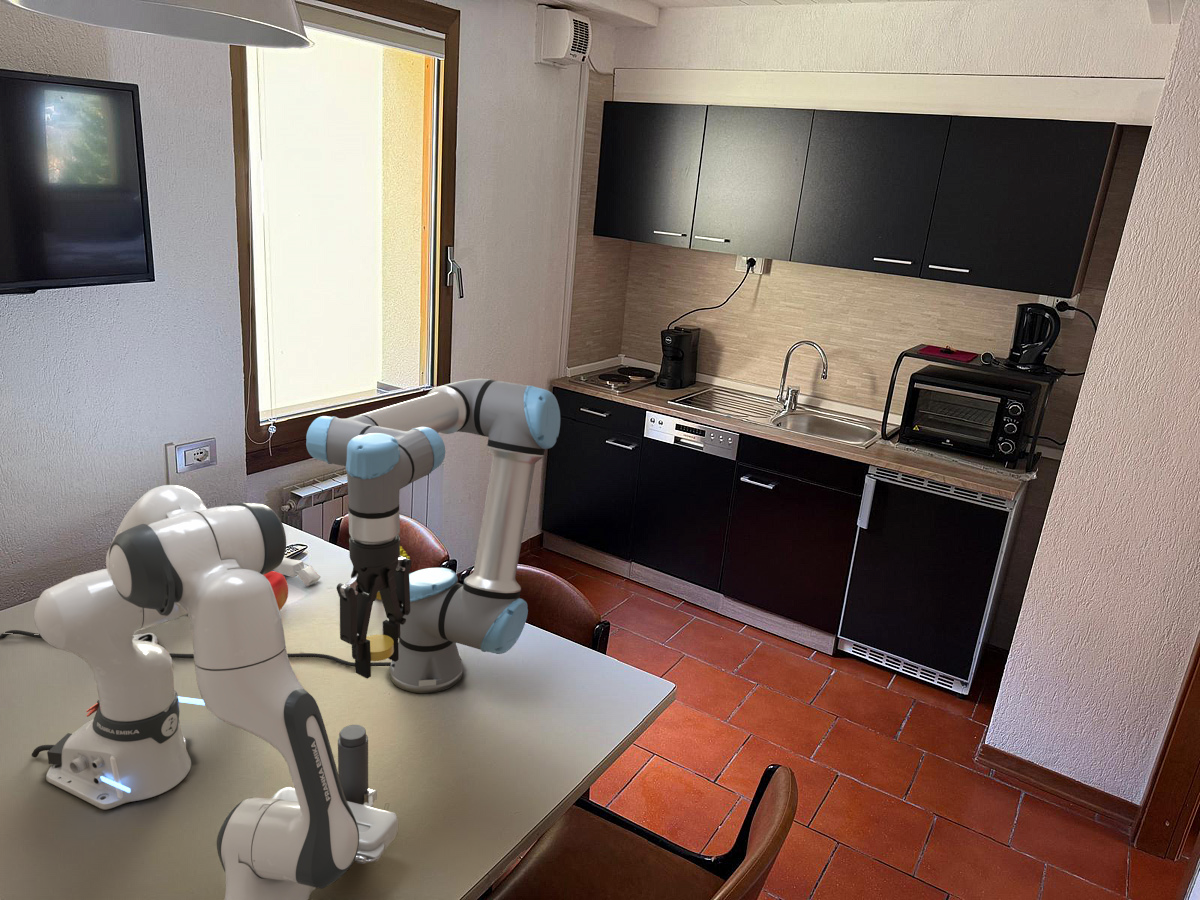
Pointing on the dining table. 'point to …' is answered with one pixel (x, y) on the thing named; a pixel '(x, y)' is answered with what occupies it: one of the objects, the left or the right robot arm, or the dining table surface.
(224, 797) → the dining table surface
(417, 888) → the dining table surface
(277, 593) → the apple
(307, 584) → the white elongated piece
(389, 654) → the lid
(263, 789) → the dining table surface
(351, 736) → the dark grey cylinder
